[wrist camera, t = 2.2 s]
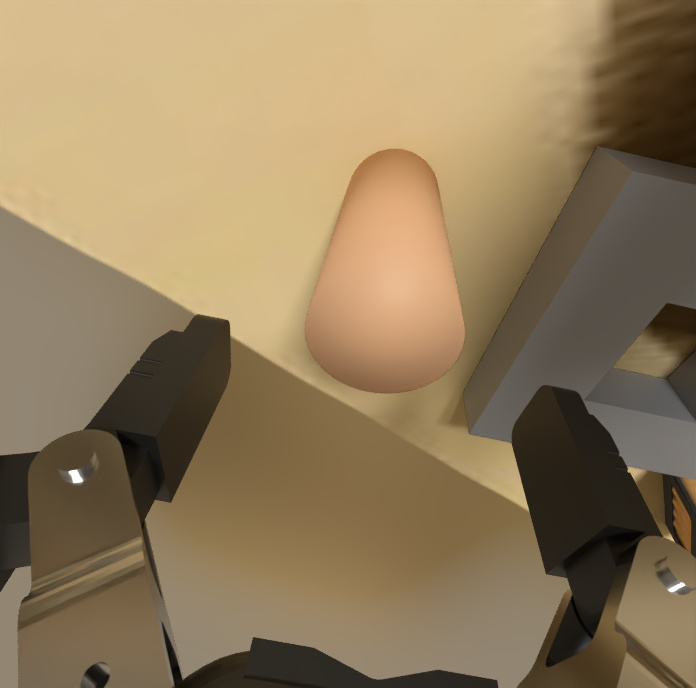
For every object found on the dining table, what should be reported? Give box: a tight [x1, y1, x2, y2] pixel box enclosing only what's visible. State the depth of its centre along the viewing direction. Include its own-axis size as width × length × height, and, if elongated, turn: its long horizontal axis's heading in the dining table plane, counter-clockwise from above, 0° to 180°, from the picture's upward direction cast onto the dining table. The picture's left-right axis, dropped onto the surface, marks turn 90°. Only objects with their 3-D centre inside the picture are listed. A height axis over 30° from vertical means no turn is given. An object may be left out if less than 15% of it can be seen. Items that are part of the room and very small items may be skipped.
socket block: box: [463, 146, 696, 480], centre depth 21 cm, size 16×16×4 cm
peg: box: [305, 149, 465, 393], centre depth 15 cm, size 4×4×11 cm
